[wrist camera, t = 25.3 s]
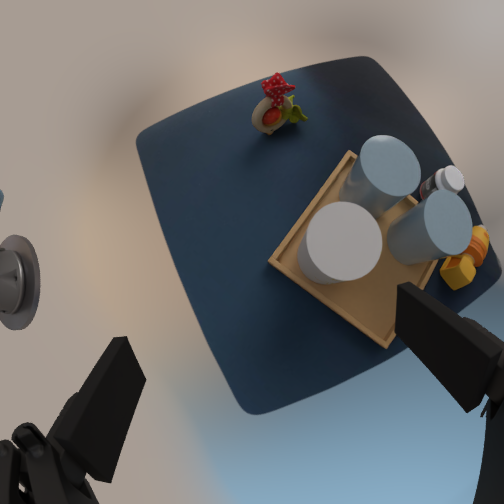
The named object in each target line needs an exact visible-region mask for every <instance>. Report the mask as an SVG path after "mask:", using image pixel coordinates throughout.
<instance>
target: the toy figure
mask: <svg viewBox="0 0 504 504" xmlns="http://www.w3.org/2000/svg"><path fill="white" fill-rule="evenodd" d="M488 245H489V235H488V233H487V228H486V227H485V226H483V225H479V226H474V227H473V228H472V238H471V241H470V243H469V245H468V247H467V248H466V249H465V250H464V251H463V252H462V253H460V254H459V255H454V256H450V257H447V259H446V260H445V262H444V264H443V265H442V267H441V269H440V275H441V276H442V278H443V279H444V280H445V282H446V283H447V284H448V285H449V286H450V287H451V289H453V290H457V289H459V288H461V287H463V286H465V285H467V284H469V283H470V282H471V281H472V279H473V278H474V276H475V273H476V269H475V268H474V267H479V266H481V264H482V263H483V259H484V258H485V256H486V254H487V250H488Z"/></svg>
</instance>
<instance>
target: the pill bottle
mask: <svg viewBox="0 0 504 504" xmlns="http://www.w3.org/2000/svg"><path fill="white" fill-rule="evenodd" d="M463 187H464V178H463V175H462V173H461V172H460V170H459V169H458V168H456V167H455V166H447V167H446V168H445V169H440V170H438V171H437V172H436V173H435V174H433V175H432V176H431V177H430V178H428V179H427V180H426V181H425V182H424V183H422V185H421V187H420V196H421V198H422V200H423V199H424V198H426V197H427V196H429V195H430V194H432V193H433V192H435V191H437V190H441V189H442V190H449V191H451V192H453V193H455V194H457V193H458V192H459V191H460V190H461V189H463Z"/></svg>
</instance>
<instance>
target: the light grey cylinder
mask: <svg viewBox="0 0 504 504" xmlns="http://www.w3.org/2000/svg"><path fill="white" fill-rule="evenodd" d="M381 251H382V236H381V231H380V228H379V226H378V224H377V222H376V220H375V219H374V218H373V216H372V215H371V214H370V213H369V212H368V211H367V210H365V209H364V208H362V207H361V206H359V205H357V204H354V203H350V202H335V203H331V204H328V205H326V206H324V207H323V208H321V209H320V210H319V211H318V212H317V213H316V214H315V215H314V216H313V218H312V220H311V221H310V223H309V226H308V228H307V230H306V232H305V234H304V236H303V238H302V240H301V243H300V245H299V248H298V252H297V259H298V264H299V267H300V269H301V271H302V272H303V274H304V275H305V276H306V277H307V278H308V279H310V280H311V281H313V282H315V283H318V284H325V285H326V284H334V283H339V282H345V281H350V280H355V279H358V278H361V277H363V276H365V275H366V274H368V273H369V272H370V271H371V270H372V269H373V268H374V267H375V265H376V264H377V262H378V260H379V258H380V255H381Z"/></svg>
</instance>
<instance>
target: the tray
mask: <svg viewBox="0 0 504 504" xmlns="http://www.w3.org/2000/svg"><path fill="white" fill-rule="evenodd" d="M356 157H357V155H356V154H354V153H353V152H351V151H350V150H348V151H347V153H346V154H345V156H344V157H343V159H342V160H341V161H340V163H339V164H338V166H337V167H336V168H335V170H334V171H333V173H332V174H331V175H330V177H329V178H328V179H327V181H326V182H325V184H324V185H323V186H322V188H321V189H320V191H319V192H318V193H317V195H316V196H315V197H314V199H313V200H312V202H311V203H310V204H309V206H308V207H307V208H306V210H305V211H304V213H303V214H302V215H301V217H300V218H299V219H298V221H297V222H296V223H295V225H294V226H293V228H292V229H291V230H290V232H289V233H288V234H287V236H286V237H285V238H284V240H283V241H282V242H281V244H280V245H279V246H278V248H277V249H276V251H275V252H274V253H273V255H272V256H271V257H270V259H269V260H268V263H269V264H270V265H272V266H273V267H275V268H276V269H277V270H279V271H280V272H281V273H283V274H284V275H285V276H287V277H288V278H289V279H291V280H292V281H294V282H295V283H296V284H298V285H299V286H300V287H302V288H303V289H304V290H306V291H307V292H308V293H310V294H311V295H312V296H314V297H315V298H317V299H318V300H319V301H321V302H322V303H323V304H325V305H326V306H327V307H329V308H330V309H331V310H333V311H334V312H335V313H337V314H338V315H340V316H341V317H342V318H344V319H345V320H346V321H348V322H349V323H350V324H352V325H353V326H354V327H356V328H357V329H358V330H360V331H361V332H362V333H364V334H365V335H367V336H368V337H369V338H371V339H372V340H373V341H375V342H376V343H377V344H379V345H380V346H381V347H384V348H386V349H387V347H388V346H389V344H390V343H391V342H392V340H393V339H394V337H395V336H396V334H395V332H394V329H395V316H396V299H397V285H398V284H402V283H405V282H408V281H410V282H411V283H413V284H414V285H416V286H417V287H419V288H420V289H422V290H423V289H424V287H425V285H426V283H427V281H428V280H429V278H430V276H431V274H432V272H433V270H434V268H435V266H436V264H437V262H438V260H439V259H438V260H434V261H430V262H426V263H421V264H417V265H412V266H408V265H404V264H402V263H400V262H399V261H397V260H396V259H395V258H394V257H393V255H392V254H391V252H390V250H389V247H388V243H387V232H388V228H389V226H390V224H391V222H392V221H393V220H394V219H395V218H397V217H398V216H400V215H401V214H403V213H404V212H406V211H407V210H408V209H410V208H411V207H413V206H414V205H416V204H417V203H419V202H418V201H416V200H415V199H414V198H413V197H412V196H410V195H409V196H407V197H406V198H405V199H404V200H402V201H401V202H400V203H398V204H397V205H396V206H395V207H393V208H392V209H391V210H389V211H388V212H387V213H386V214H384V215H383V216H382V217H380V218H379V219H378V220H376V222H377V224H378V226H379V228H380V231H381V236H382V251H381V255H380V258H379V260H378V262H377V264H376V265H375V267H374V268H373V269H372V270H371V271H370V272H369V273H368V274H366V275H365V276H363V277H361V278H358V279H355V280H350V281H345V282H339V283H334V284H326V285H325V284H318V283H315V282H313V281H311V280H310V279H308V278H307V277H306V276H305V275H304V274H303V272H302V271H301V269H300V267H299V264H298V259H297V252H298V248H299V245H300V243H301V240H302V238H303V236H304V234H305V232H306V230H307V228H308V226H309V223H310V221H311V220H312V218H313V216H314V215H315V214H316V213H317V212H318V211H319V210H320V209H321V208H323V207H324V206H326V205H328V204H331V203H335V202H340V199H339V190H340V186H341V184H342V182H343V181H344V179H345V177H346V175H347V173H348V172H349V170H350V168H351V166H352V165H353V163H354V161H355V159H356Z"/></svg>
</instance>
